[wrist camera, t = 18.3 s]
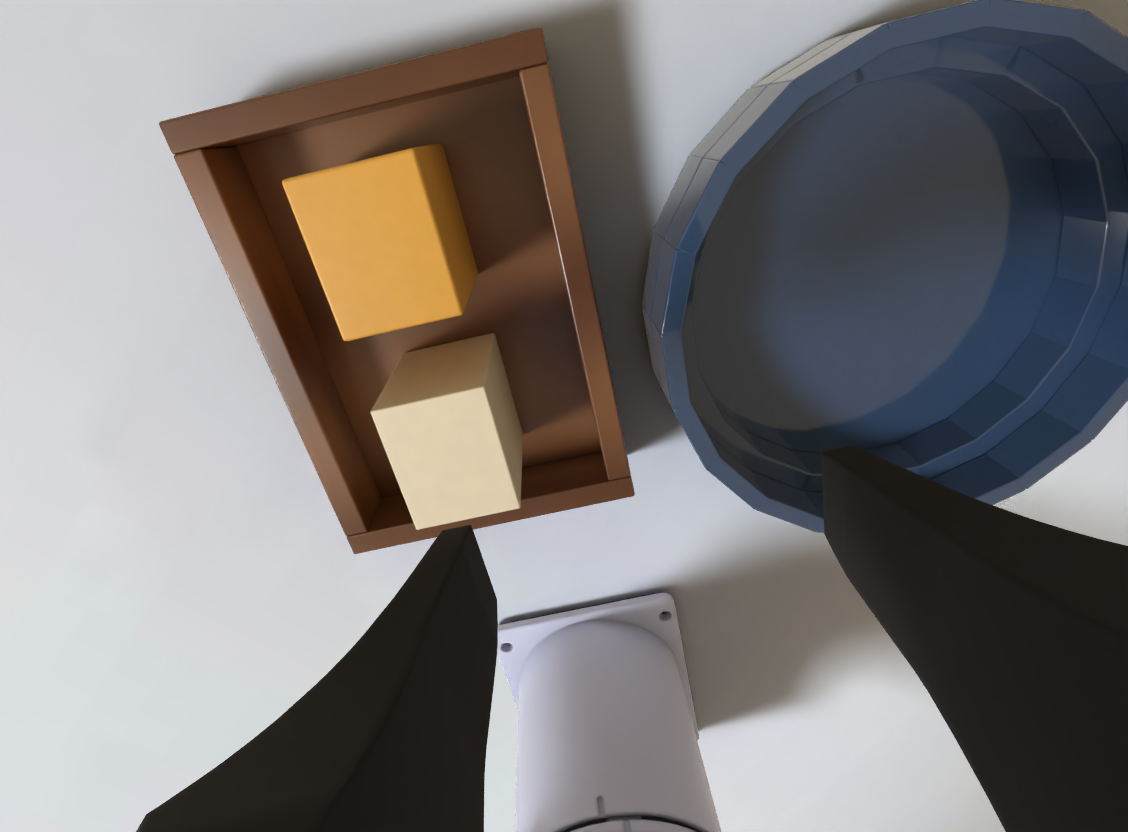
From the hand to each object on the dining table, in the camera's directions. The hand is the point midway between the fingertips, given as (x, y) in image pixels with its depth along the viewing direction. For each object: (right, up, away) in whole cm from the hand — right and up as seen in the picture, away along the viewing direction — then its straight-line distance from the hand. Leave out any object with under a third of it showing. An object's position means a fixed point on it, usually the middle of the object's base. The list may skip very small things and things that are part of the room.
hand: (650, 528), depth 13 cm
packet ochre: (-7, +8, +7) cm, 12 cm away
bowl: (+8, +7, +9) cm, 14 cm away
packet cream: (-5, +3, +9) cm, 11 cm away
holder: (-6, +6, +8) cm, 12 cm away
